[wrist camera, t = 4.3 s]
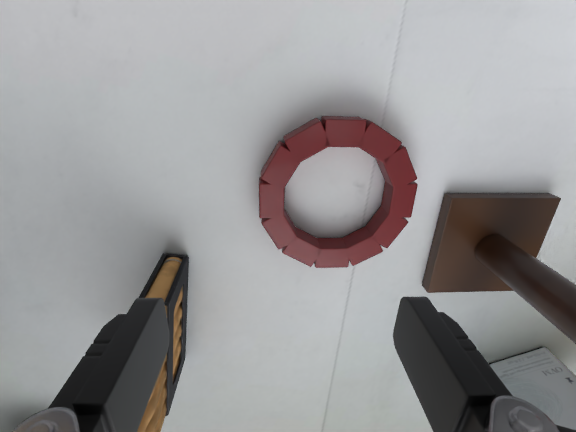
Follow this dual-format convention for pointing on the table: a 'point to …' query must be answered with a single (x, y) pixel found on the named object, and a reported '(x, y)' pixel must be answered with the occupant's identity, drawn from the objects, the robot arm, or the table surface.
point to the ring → (380, 226)
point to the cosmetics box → (541, 384)
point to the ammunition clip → (173, 289)
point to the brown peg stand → (500, 252)
